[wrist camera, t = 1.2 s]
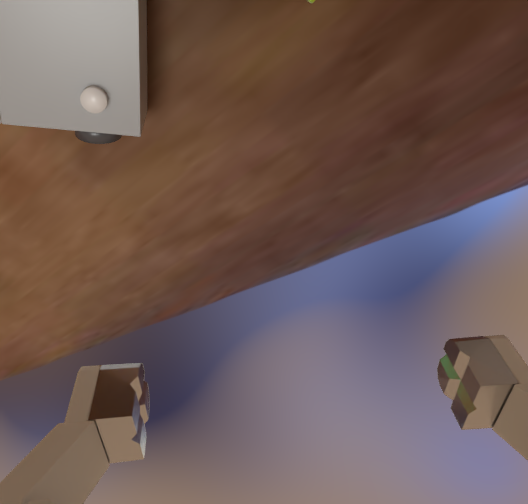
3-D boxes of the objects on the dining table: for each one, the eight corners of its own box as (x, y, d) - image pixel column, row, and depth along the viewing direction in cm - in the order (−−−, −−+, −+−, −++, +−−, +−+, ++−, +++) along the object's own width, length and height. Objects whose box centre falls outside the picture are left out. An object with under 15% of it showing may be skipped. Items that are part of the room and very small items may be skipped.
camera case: (-13, -123, 34) (-54, -125, 28) (146, -96, 35) (135, -93, 30) (26, 112, 44) (1, 143, 39) (147, 124, 46) (139, 155, 40)
